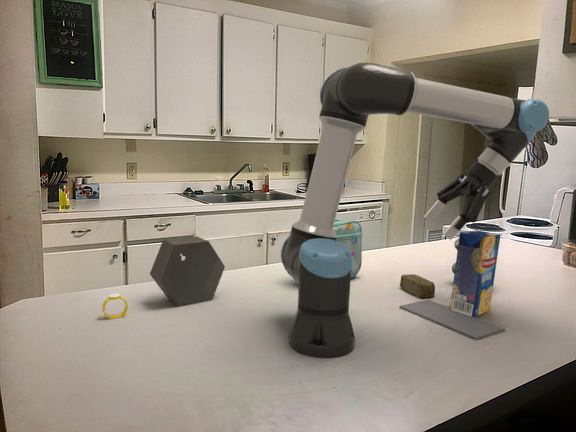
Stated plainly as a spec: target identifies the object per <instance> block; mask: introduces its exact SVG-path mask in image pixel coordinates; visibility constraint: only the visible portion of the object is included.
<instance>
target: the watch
mask: <svg viewBox="0 0 576 432" xmlns="http://www.w3.org/2000/svg"><path fill="white" fill-rule="evenodd" d="M119 299H121V300H122V301H124V306H125V307H124V309H123V311H122V312H121V313H120V314H114V315H110V314H108V313H106V311H105V310H106V306H107V304H108V302H109V301H111V300H112V301H115V300H119ZM128 309H129V305H128V301H127V300H126V299H125V297H123V296H122V295H121V294H120V293H111V294H109V295H108V297H107V298H106V299H105V300H104V301H103V303H102V312H103V315H105V317H106V318H107V319H110V320H111V319H117V318H118V319H119V318H123V317H124V316H125V315H126V314H127V312H128Z"/></svg>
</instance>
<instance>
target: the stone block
mask: <svg viewBox="0 0 576 432" xmlns="http://www.w3.org/2000/svg"><path fill="white" fill-rule="evenodd" d="M399 287H400V288H401V289H402V290H403V291H404V292H407V293H409V294H411V295H413V296H415V297H417V298H419V299H420V298H421V299H429V298H434V296H435V294H436V285H435V283H434V282H433V281H430V280H429V279H427V278H424V277H422V276H420V275H418V274H401V276H400V281H399Z"/></svg>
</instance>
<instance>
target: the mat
mask: <svg viewBox="0 0 576 432" xmlns="http://www.w3.org/2000/svg"><path fill="white" fill-rule="evenodd" d="M399 309H401V310H404V311H406V312H408V313H411V314H413V315H415V316H418V317H420V318H422V319H425V320H427V321H429V322H432V323H433V324H437V325H439V326H441V327H444V328H446V329H448V330H451V331H453V332H456V333H458V334H460V335H463V336H464V337H468V338H470V339H472V340H474V341H477V340H480V339H485V338H487V337H490V336H494V335H496V334H500V333H503V332H505V331H506V328H505V327H502V326H499V325H497V324H494V323H491V322H490V321H487V320H484V319H481V318H478V317H477V316H475V317H471V316H468V315H465V314H461V313H458V312H455V311H451V310H450V306H447V305H444V304H442V303H438V302H436V301H434V300H431V299H429V298H427V299H425V300H424V299H423V300H420V301H416V302H411V303H406V304H402V305H399Z"/></svg>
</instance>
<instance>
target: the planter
mask: <svg viewBox="0 0 576 432" xmlns="http://www.w3.org/2000/svg"><path fill="white" fill-rule="evenodd" d="M183 257H185V258H184V259H183ZM225 267H226V266H225V264H224V262H223V261H222V260H221V257H219V255H218V254H217V252H216V250H215V249H214V247H213V245H212V244H211V243H210V240H209V241H208V240H207V239H204V238H201V237H199V236H197V235H195V236H194V235H193V236H185V237H176V238H175V237H174V238H166V239H165V238H164V239H162V242H161V245H160V247H159V249H158V253H157V254H156V257H155V260H154V262H153V265H152V268H151V269H150V272H149V276H151V278H152V279H153V281H154V282H155V283H156V285H157V286H158V288H159V289H160V290H161V292H163V294H164V295H165V297H166V298H167V299H168V300H169V301H171V302H172V303H174V304H175V305H176V306H178V307H183V306H189V305H196V304H200V303H205V302H210V301H213V299H214V297H215V294H216V292H217V290H218V287H219V284H220V281H221V278H222V276H223V273H224V271H225Z"/></svg>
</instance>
